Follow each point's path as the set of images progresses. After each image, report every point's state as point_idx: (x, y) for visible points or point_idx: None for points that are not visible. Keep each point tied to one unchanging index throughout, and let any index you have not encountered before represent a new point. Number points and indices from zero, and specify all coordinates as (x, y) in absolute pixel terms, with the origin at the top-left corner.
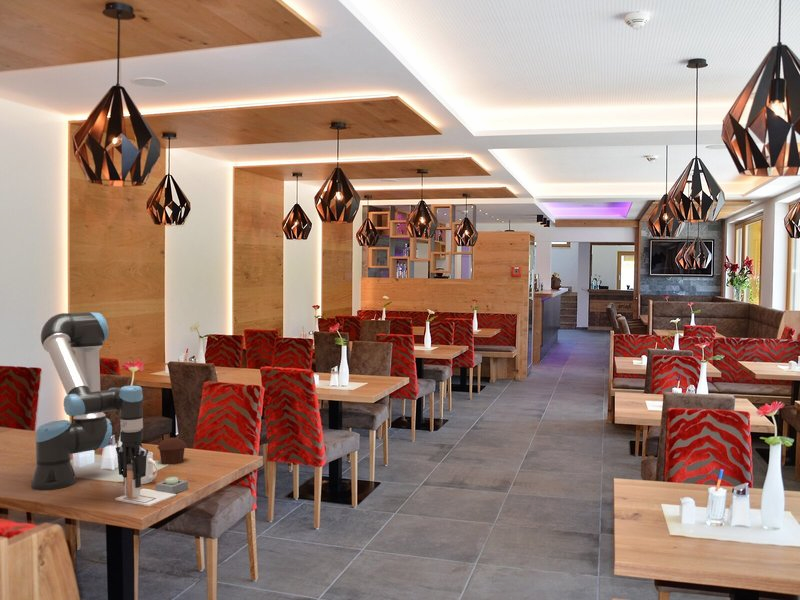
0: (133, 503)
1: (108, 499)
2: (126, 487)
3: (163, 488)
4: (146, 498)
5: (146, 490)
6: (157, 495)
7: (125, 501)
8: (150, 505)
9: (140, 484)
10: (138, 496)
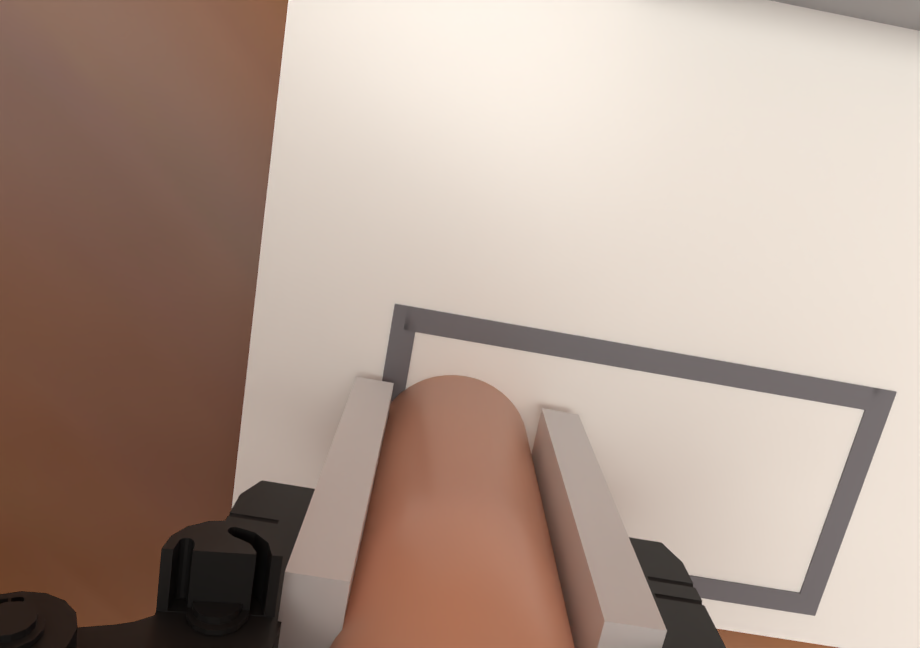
0: None
1: (106, 535)
2: None
3: (879, 6)
4: (719, 430)
5: (451, 22)
6: (829, 246)
7: None
8: (916, 628)
9: (689, 591)
10: (526, 379)
